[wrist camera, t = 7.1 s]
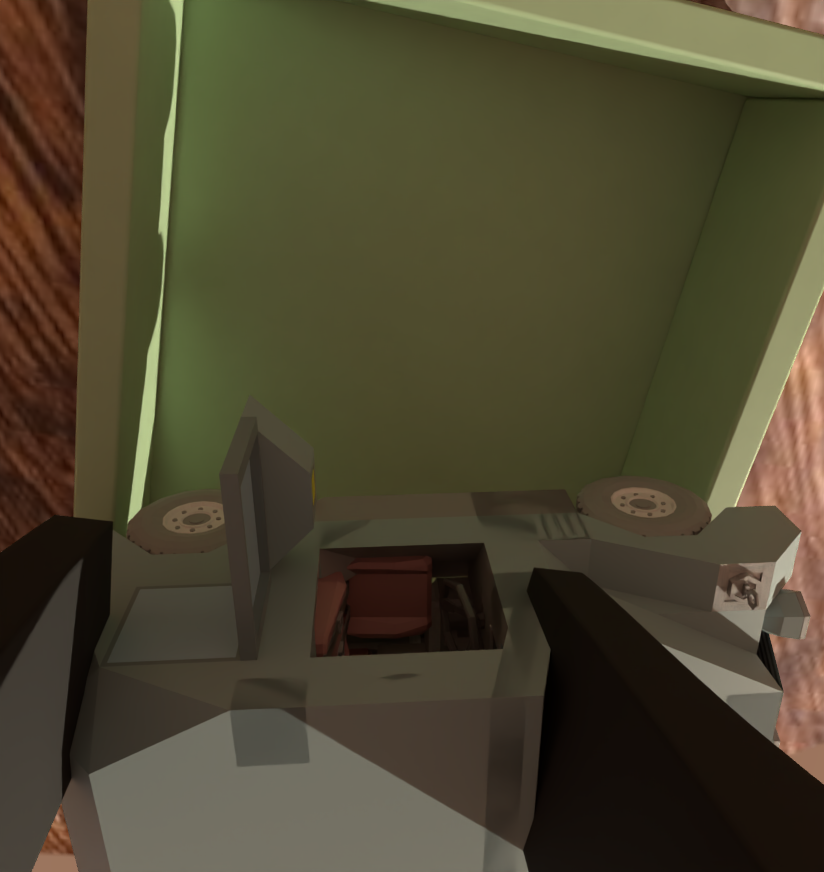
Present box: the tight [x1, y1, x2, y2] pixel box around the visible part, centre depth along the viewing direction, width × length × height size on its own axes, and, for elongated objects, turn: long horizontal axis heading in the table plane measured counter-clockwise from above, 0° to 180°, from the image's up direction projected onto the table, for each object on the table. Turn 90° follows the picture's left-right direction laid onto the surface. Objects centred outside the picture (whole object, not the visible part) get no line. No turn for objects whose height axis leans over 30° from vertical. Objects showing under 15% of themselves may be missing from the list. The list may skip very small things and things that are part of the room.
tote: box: [73, 0, 824, 583], centre depth 13 cm, size 14×10×3 cm
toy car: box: [61, 394, 810, 872], centre depth 10 cm, size 6×10×5 cm, turn 90°
